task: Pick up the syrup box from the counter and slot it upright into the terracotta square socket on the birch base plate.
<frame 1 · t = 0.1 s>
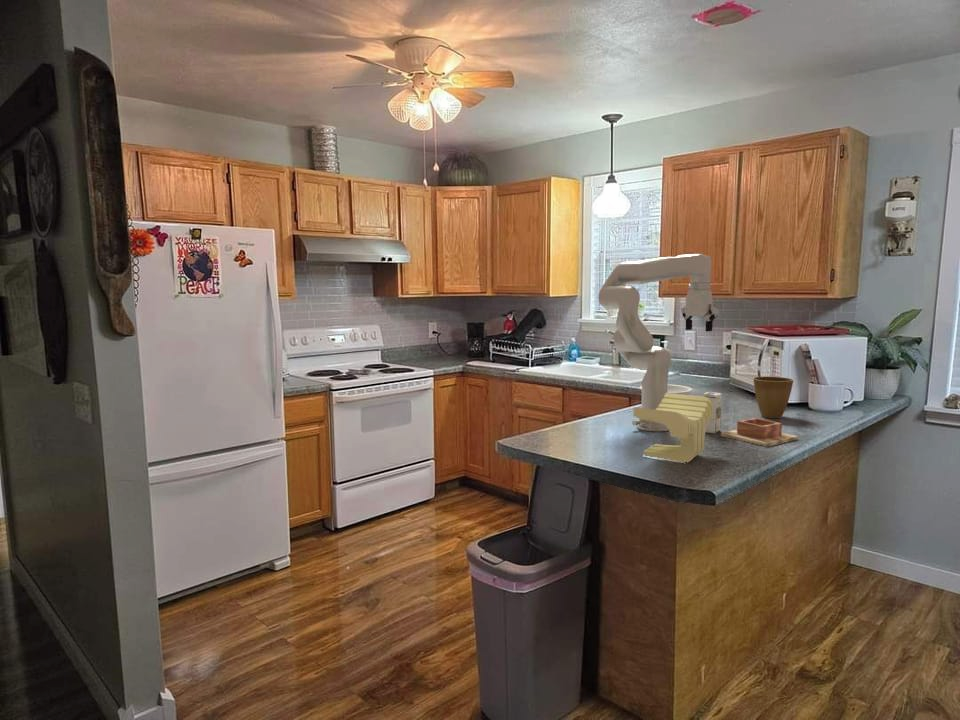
hand: (698, 330, 241), 37 cm above the countertop, tool pointing down, fingers open, 9 cm apart
terracotta box on board: (758, 437, 217), on the countertop
soup bowl: (665, 402, 286), on the countertop
syrup box: (710, 431, 228), on the countertop
plant pot: (771, 417, 252), on the countertop
slatted curved stool: (673, 457, 195), on the countertop
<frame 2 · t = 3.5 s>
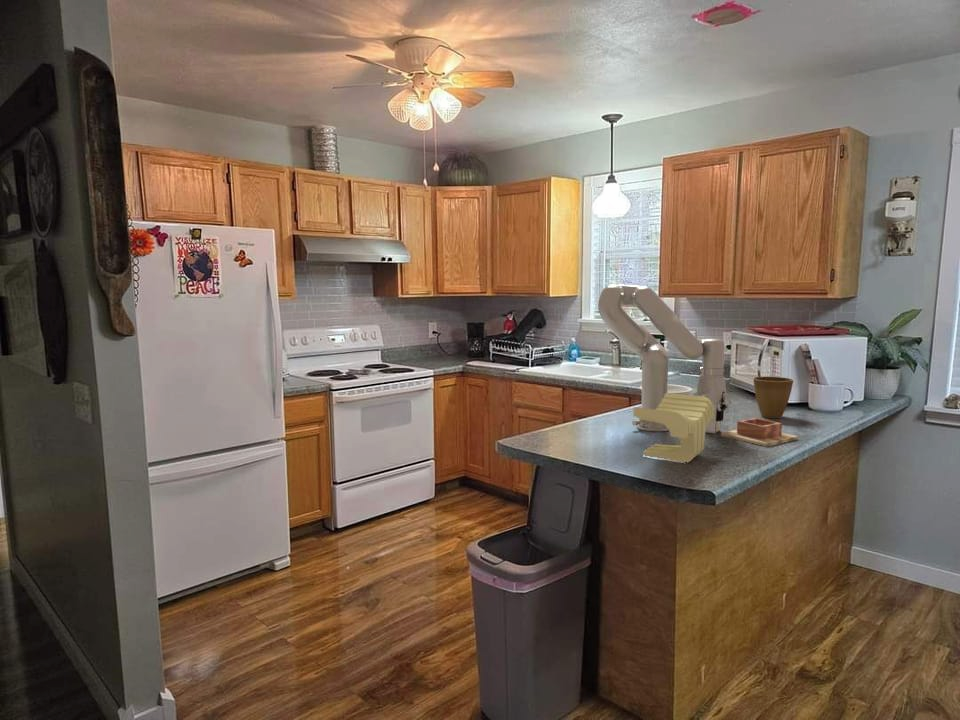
hand: (710, 418, 227), 5 cm above the countertop, tool pointing down, fingers closed on syrup box, 7 cm apart
syrup box: (710, 431, 228), on the countertop, touching gripper
everything else where it was.
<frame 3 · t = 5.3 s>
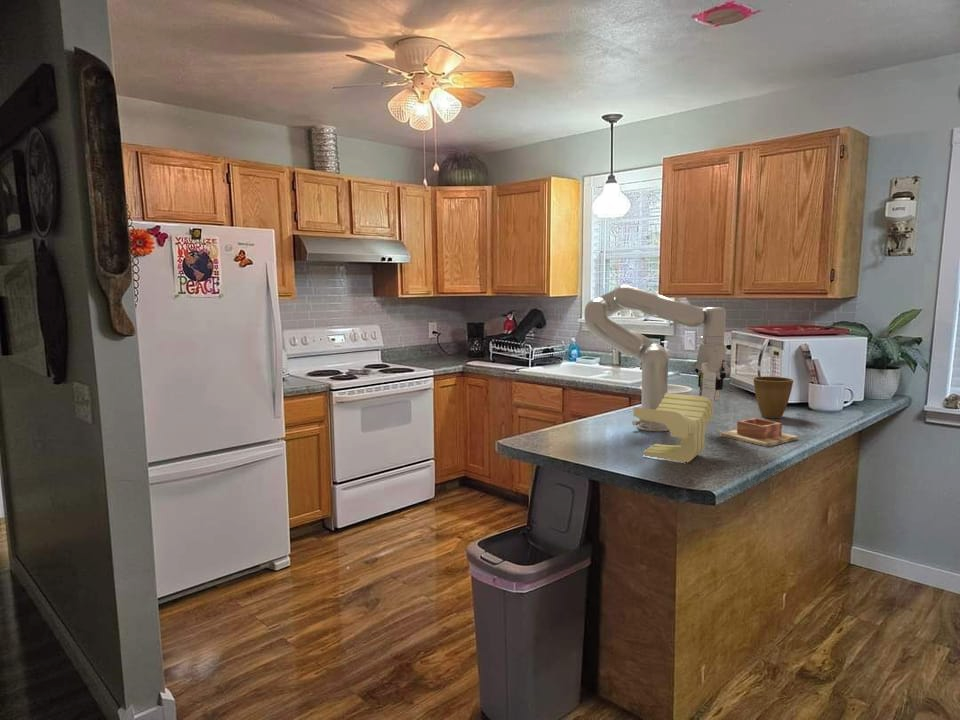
hand: (710, 387, 226), 17 cm above the countertop, tool pointing down, fingers closed on syrup box, 7 cm apart
syrup box: (709, 401, 226), point 11 cm above the countertop, touching gripper
everything else where it was.
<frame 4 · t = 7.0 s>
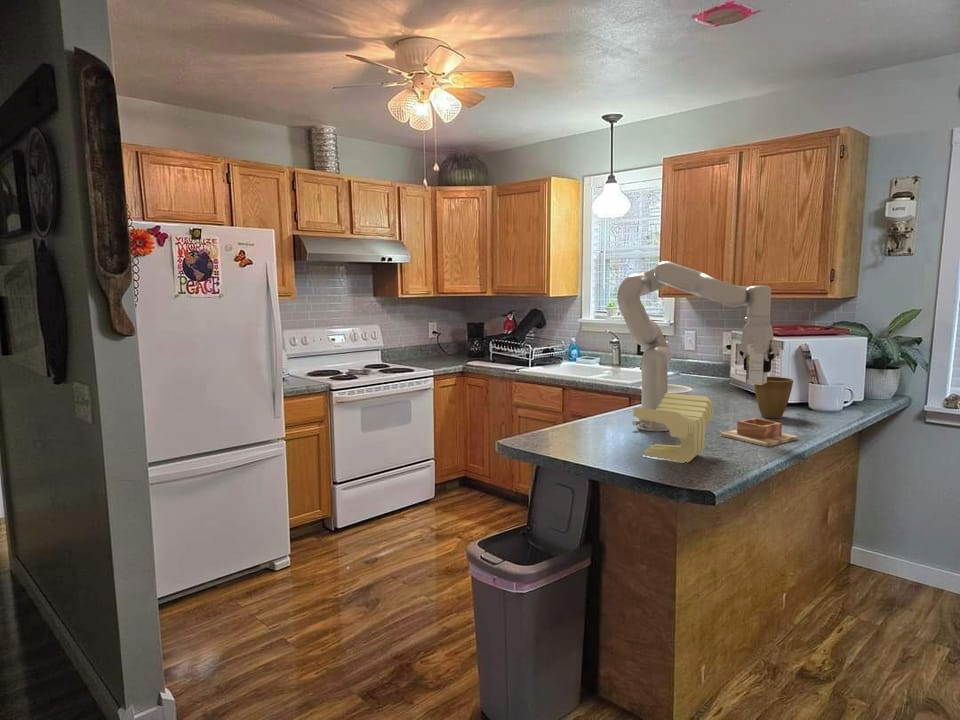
hand: (756, 370, 215), 24 cm above the countertop, tool pointing down, fingers closed on syrup box, 7 cm apart
syrup box: (756, 384, 216), point 19 cm above the countertop, touching gripper
everything else where it was.
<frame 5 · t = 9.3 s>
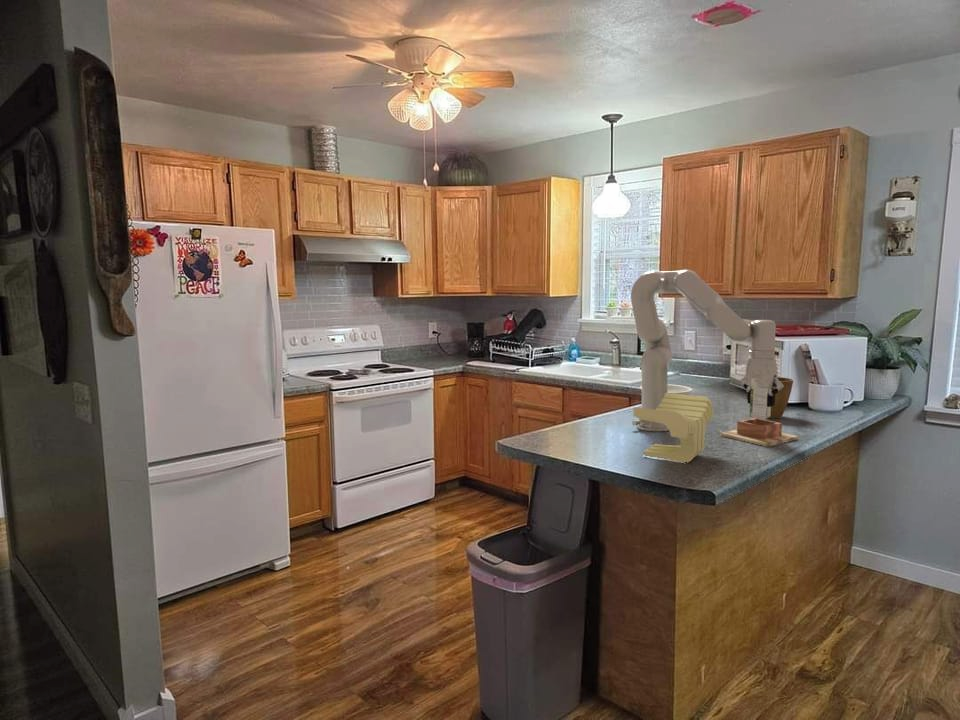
hand: (760, 404, 216), 12 cm above the countertop, tool pointing down, fingers closed on syrup box, 7 cm apart
syrup box: (760, 417, 216), point 7 cm above the countertop, touching gripper
everything else where it was.
when the fingers open (8 cm above the countertop, at t = 10.8 s): syrup box drops 2 cm, resting on terracotta box on board.
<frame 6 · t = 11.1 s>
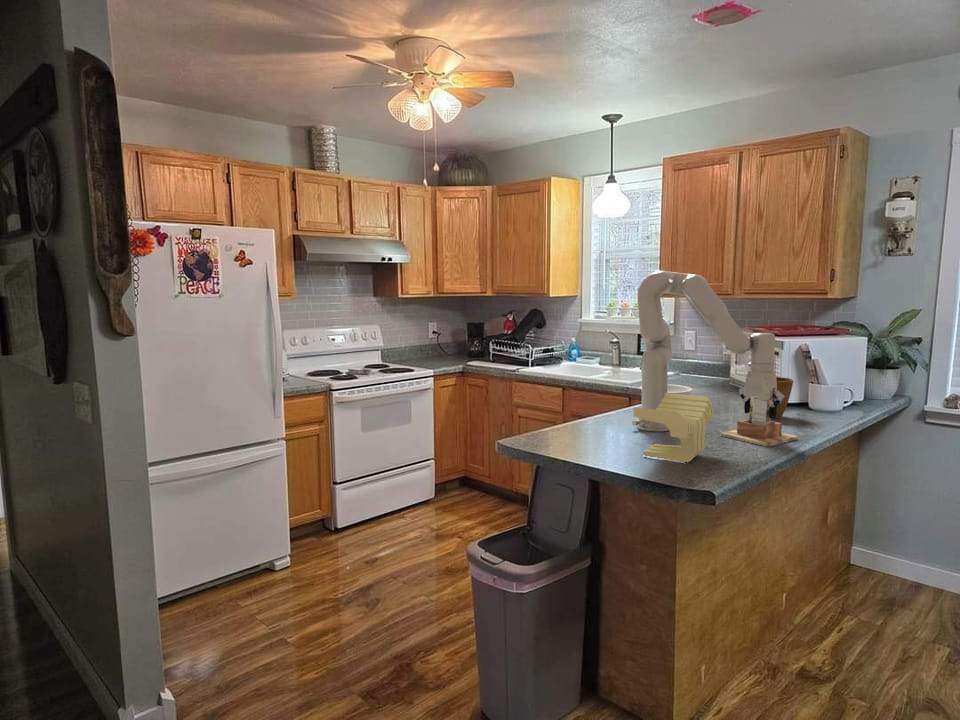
hand: (759, 415, 216), 8 cm above the countertop, tool pointing down, fingers open, 9 cm apart
syrup box: (759, 435, 217), point 1 cm above the countertop, touching terracotta box on board
everything else where it was.
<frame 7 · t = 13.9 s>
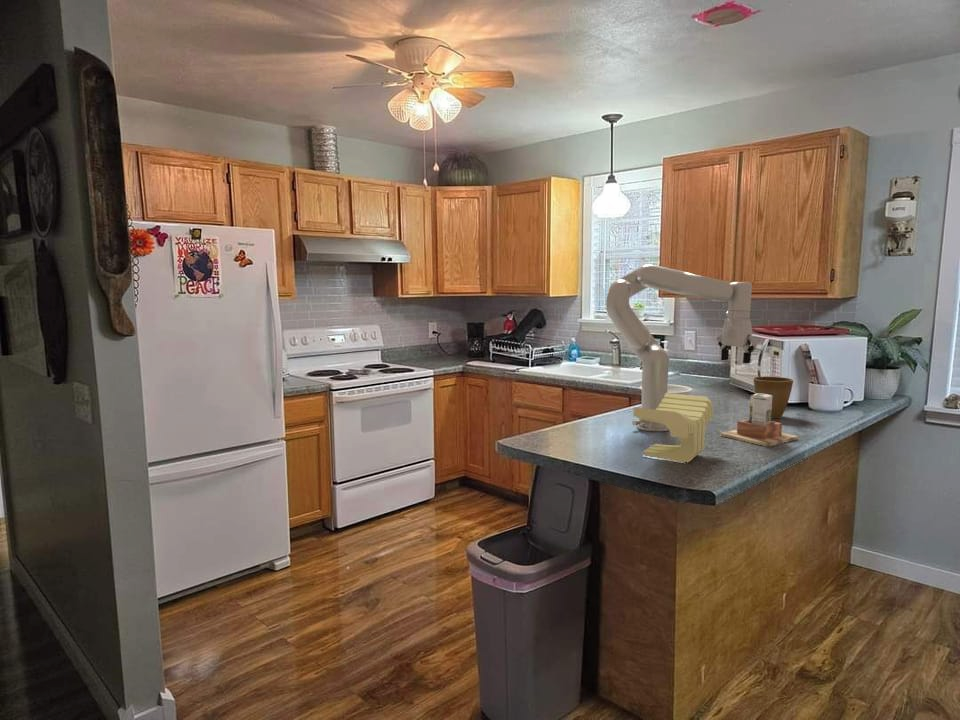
hand: (735, 361, 225), 26 cm above the countertop, tool pointing down, fingers open, 9 cm apart
nothing on the countertop moved.
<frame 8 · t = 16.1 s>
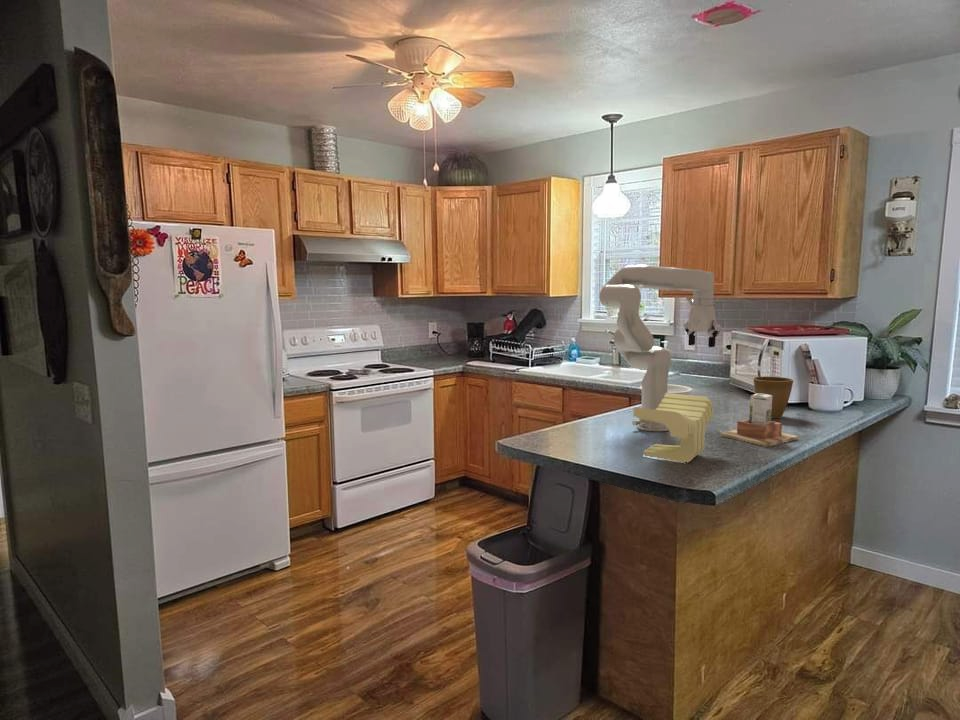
hand: (701, 346, 243), 30 cm above the countertop, tool pointing down, fingers open, 9 cm apart
nothing on the countertop moved.
at the end: syrup box 0.3 cm off-centre on the terracotta box on board, point 1.0 cm above the terracotta box on board's base; syrup box tilted 0°; the gripper is holding nothing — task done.
